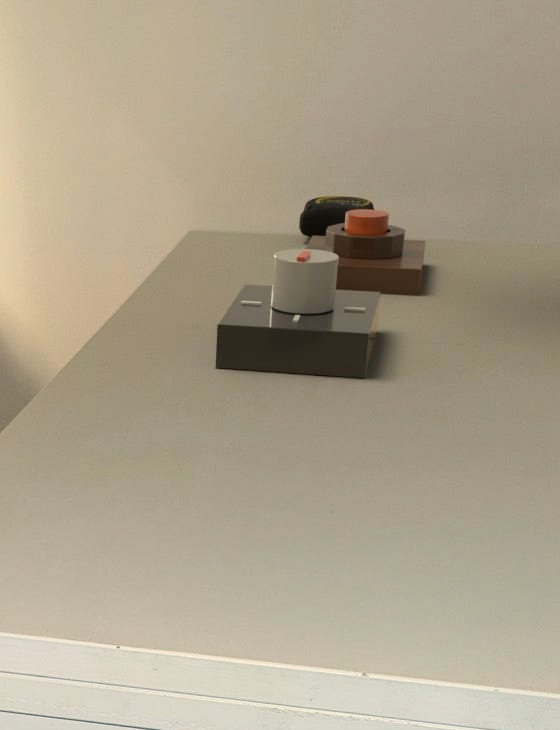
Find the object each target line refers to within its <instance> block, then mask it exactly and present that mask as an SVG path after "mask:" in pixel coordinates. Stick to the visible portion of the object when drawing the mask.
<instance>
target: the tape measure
mask: <svg viewBox="0 0 560 730" xmlns="http://www.w3.org/2000/svg"><path fill="white" fill-rule="evenodd" d="M361 209H367V210H375V207H374V203H373V202H372V201H371V200H369V199H367V198H363V197H357V196H345V195H344V196H343V195H329V196H327V195H326V196H319V197H315V198H311V199H309V200H308V201H307V202H306V203H305V205H304V208H303V210H302V212H301V213H300V215H299V222H298V224H299V225H298V228H299V231H300V233H301V234H302V235H303V236H305V237H309V238H311V237H312V236H326V230H327V228H328V226H332V225H336V224H341V223H345V215H346V212H347V211H350V210H361Z"/></svg>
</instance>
